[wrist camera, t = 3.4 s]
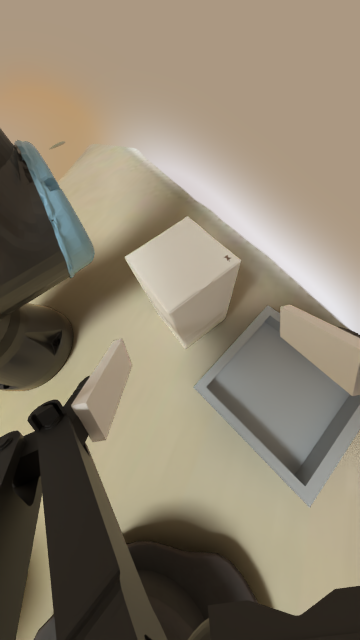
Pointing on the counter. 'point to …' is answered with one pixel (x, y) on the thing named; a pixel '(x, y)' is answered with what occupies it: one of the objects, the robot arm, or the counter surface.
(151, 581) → the casserole
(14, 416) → the counter surface
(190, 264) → the supplement box
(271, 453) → the tray
